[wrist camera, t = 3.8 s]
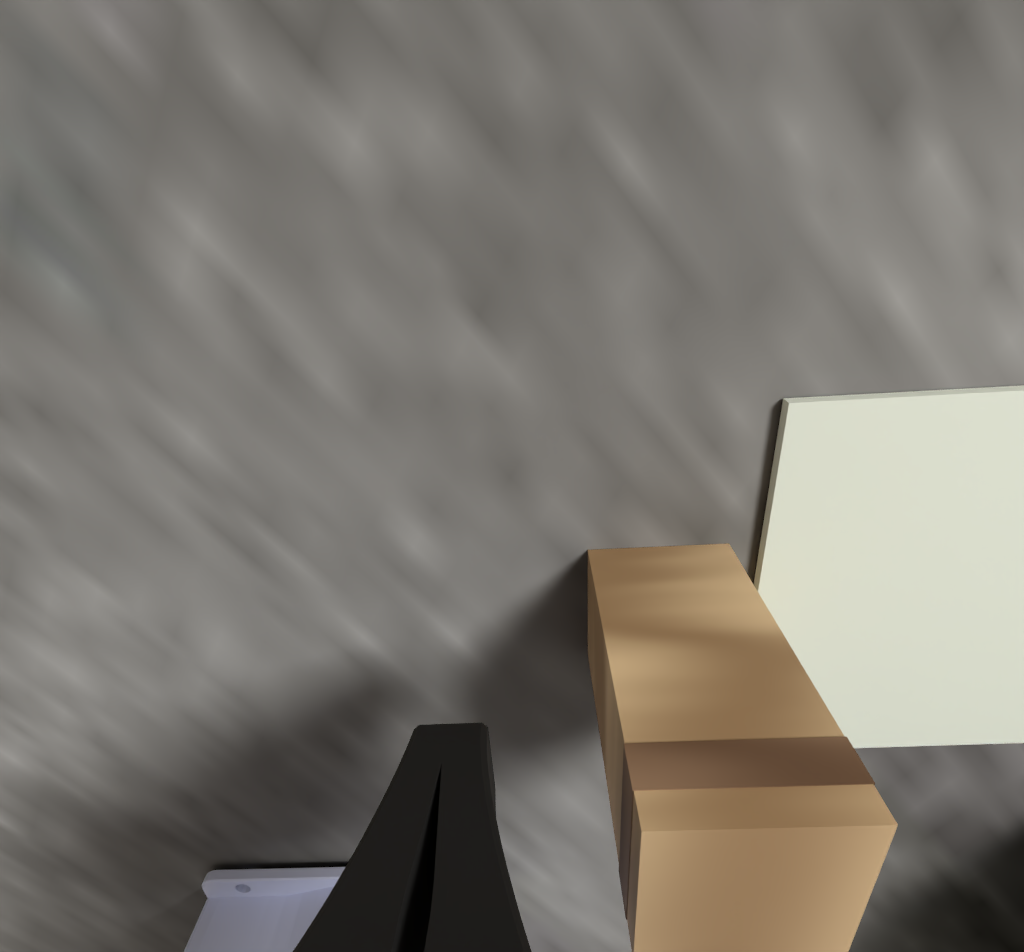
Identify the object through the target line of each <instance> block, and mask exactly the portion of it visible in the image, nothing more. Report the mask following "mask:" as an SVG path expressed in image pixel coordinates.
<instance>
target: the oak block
mask: <svg viewBox="0 0 1024 952" xmlns="http://www.w3.org/2000/svg"><path fill="white" fill-rule="evenodd" d="M588 659H589V665H590V672H591V679H592V685H593V692H594V699H595V706H596V712H597V719H598V726H599V733H600V739H601V746H602V753H603V760H604V766H605V773H606V780H607V787H608V793H609V800H610V807H611V814H612V820H613V827H614V834H615V841H616V847H617V854H618V861H619V875H620V882H621V889H622V896H623V903H624V910H625V916H626V919H627V921H628V928H629V935H630V942H631V948H632V952H848V951H849V949H850V946H851V944H852V941H853V938H854V936H855V933H856V931H857V928H858V926H859V923H860V921H861V918H862V915H863V913H864V910H865V908H866V905H867V903H868V900H869V898H870V895H871V892H872V890H873V887H874V885H875V882H876V880H877V877H878V875H879V872H880V869H881V867H882V864H883V862H884V859H885V857H886V854H887V852H888V849H889V846H890V844H891V841H892V839H893V836H894V834H895V831H896V829H897V826H898V824H897V823H896V821H895V819H894V818H893V816H892V814H891V813H890V811H889V809H888V808H887V806H886V804H885V803H884V801H883V799H882V798H881V796H880V794H879V793H878V791H877V789H876V788H875V786H874V785H875V782H874V781H873V779H872V777H871V776H870V774H869V772H868V771H867V769H866V768H865V766H864V764H863V763H862V761H861V759H860V758H859V756H858V754H857V753H856V751H855V749H854V748H853V746H852V744H851V743H850V741H849V739H848V738H847V737H845V736H844V735H843V733H842V731H841V730H840V728H839V726H838V725H837V723H836V721H835V720H834V718H833V716H832V715H831V713H830V711H829V710H828V708H827V706H826V705H825V703H824V701H823V700H822V698H821V696H820V695H819V693H818V691H817V690H816V688H815V686H814V685H813V683H812V681H811V680H810V678H809V676H808V675H807V673H806V671H805V670H804V668H803V666H802V665H801V663H800V661H799V660H798V658H797V656H796V655H795V653H794V651H793V650H792V648H791V646H790V645H789V643H788V641H787V640H786V638H785V636H784V635H783V633H782V631H781V630H780V628H779V626H778V625H777V623H776V621H775V620H774V618H773V616H772V615H771V613H770V611H769V610H768V608H767V606H766V605H765V603H764V601H763V600H762V598H761V596H760V595H759V593H758V591H757V590H756V588H755V586H754V585H753V583H752V581H751V580H750V578H749V576H748V575H747V573H746V571H745V570H744V568H743V566H742V565H741V563H740V561H739V560H738V558H737V556H736V555H735V553H734V551H733V550H732V548H731V546H730V545H729V544H709V545H687V546H664V547H642V548H619V549H597V550H588Z"/></svg>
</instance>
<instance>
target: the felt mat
mask: <svg viewBox="0 0 1024 952" xmlns="http://www.w3.org/2000/svg"><path fill="white" fill-rule="evenodd" d="M754 586H755V588H756V590H757V591H758V593H759V595H760V596H761V598H762V600H763V601H764V603H765V605H766V606H767V608H768V610H769V611H770V613H771V615H772V616H773V618H774V620H775V621H776V623H777V625H778V626H779V628H780V630H781V631H782V633H783V635H784V636H785V638H786V640H787V641H788V643H789V645H790V646H791V648H792V650H793V651H794V653H795V655H796V656H797V658H798V660H799V661H800V663H801V665H802V666H803V668H804V670H805V671H806V673H807V675H808V676H809V678H810V680H811V681H812V683H813V685H814V686H815V688H816V690H817V691H818V693H819V695H820V696H821V698H822V700H823V701H824V703H825V705H826V706H827V708H828V710H829V711H830V713H831V715H832V716H833V718H834V720H835V721H836V723H837V725H838V726H839V728H840V730H841V731H842V733H843V735H844V736H845V737H847V738H848V739H849V741H850V743H851V744H852V746H853V748H873V747H905V746H938V745H970V744H1003V743H1024V385H1023V386H1005V387H987V388H968V389H950V390H931V391H913V392H895V393H876V394H858V395H839V396H821V397H803V398H784V399H783V403H782V409H781V416H780V422H779V428H778V434H777V441H776V447H775V453H774V459H773V466H772V472H771V478H770V485H769V491H768V497H767V503H766V510H765V516H764V522H763V528H762V535H761V541H760V547H759V553H758V560H757V566H756V572H755V579H754Z"/></svg>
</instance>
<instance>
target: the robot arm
mask: <svg viewBox="0 0 1024 952" xmlns="http://www.w3.org/2000/svg"><path fill="white" fill-rule="evenodd" d="M202 889H203V891H204V892H205V894H206V896H207V898H208V899H207V900H206V902H205V905H204V907H203V909H202V911H201V914H200V916H199V918H198V920H197V923H196V925H195V927H194V930H193V932H192V934H191V936H190V939H189V941H188V943H187V945H186V948H185V950H184V952H531V949H530V946H529V943H528V939H527V936H526V933H525V930H524V927H523V923H522V920H521V917H520V913H519V910H518V906H517V903H516V899H515V895H514V892H513V888H512V884H511V881H510V877H509V873H508V869H507V865H506V861H505V857H504V853H503V849H502V845H501V840H500V835H499V830H498V826H497V821H496V806H495V782H494V774H493V765H492V757H491V749H490V741H489V732H488V727H487V726H486V725H484V724H483V723H462V724H434V725H419V726H417V727H416V728H415V729H414V731H413V734H412V736H411V739H410V741H409V744H408V746H407V748H406V751H405V753H404V755H403V757H402V760H401V762H400V764H399V766H398V768H397V771H396V773H395V775H394V777H393V779H392V781H391V783H390V785H389V787H388V789H387V791H386V793H385V795H384V797H383V799H382V801H381V803H380V805H379V807H378V809H377V811H376V813H375V815H374V817H373V818H372V820H371V822H370V824H369V826H368V828H367V830H366V832H365V834H364V836H363V837H362V839H361V841H360V843H359V845H358V846H357V848H356V850H355V852H354V853H353V855H352V857H351V859H350V860H349V862H348V864H347V865H346V867H312V868H270V869H228V870H212V871H210V872H209V873H207V875H206V877H205V879H204V881H203V883H202Z"/></svg>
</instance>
